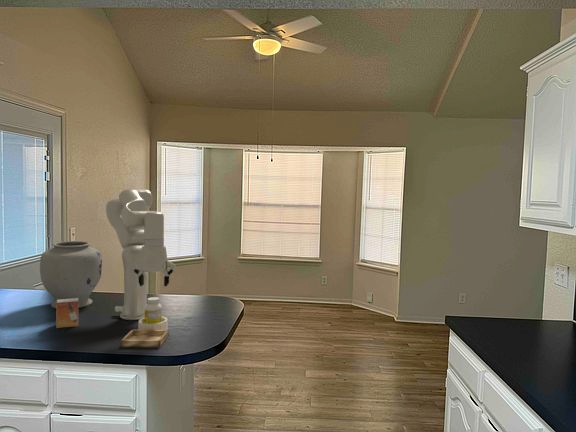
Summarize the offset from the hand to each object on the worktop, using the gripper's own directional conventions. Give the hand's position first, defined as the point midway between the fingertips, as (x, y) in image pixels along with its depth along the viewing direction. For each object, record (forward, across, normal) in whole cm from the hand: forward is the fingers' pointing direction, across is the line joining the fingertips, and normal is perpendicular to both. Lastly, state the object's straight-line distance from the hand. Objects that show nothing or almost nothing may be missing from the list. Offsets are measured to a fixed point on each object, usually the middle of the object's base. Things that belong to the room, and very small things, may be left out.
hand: (153, 285), depth 168 cm
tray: (+18, +1, -12) cm, 22 cm away
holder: (+18, 0, +1) cm, 18 cm away
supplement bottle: (+18, 0, +1) cm, 18 cm away
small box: (+18, -36, +5) cm, 41 cm away
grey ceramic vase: (+17, -49, +36) cm, 63 cm away
